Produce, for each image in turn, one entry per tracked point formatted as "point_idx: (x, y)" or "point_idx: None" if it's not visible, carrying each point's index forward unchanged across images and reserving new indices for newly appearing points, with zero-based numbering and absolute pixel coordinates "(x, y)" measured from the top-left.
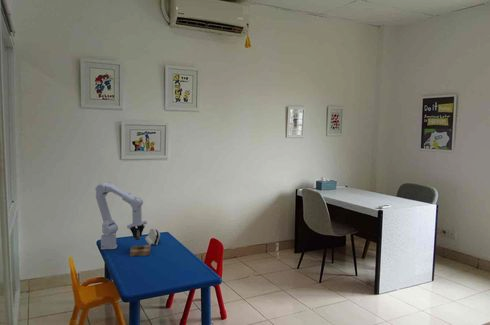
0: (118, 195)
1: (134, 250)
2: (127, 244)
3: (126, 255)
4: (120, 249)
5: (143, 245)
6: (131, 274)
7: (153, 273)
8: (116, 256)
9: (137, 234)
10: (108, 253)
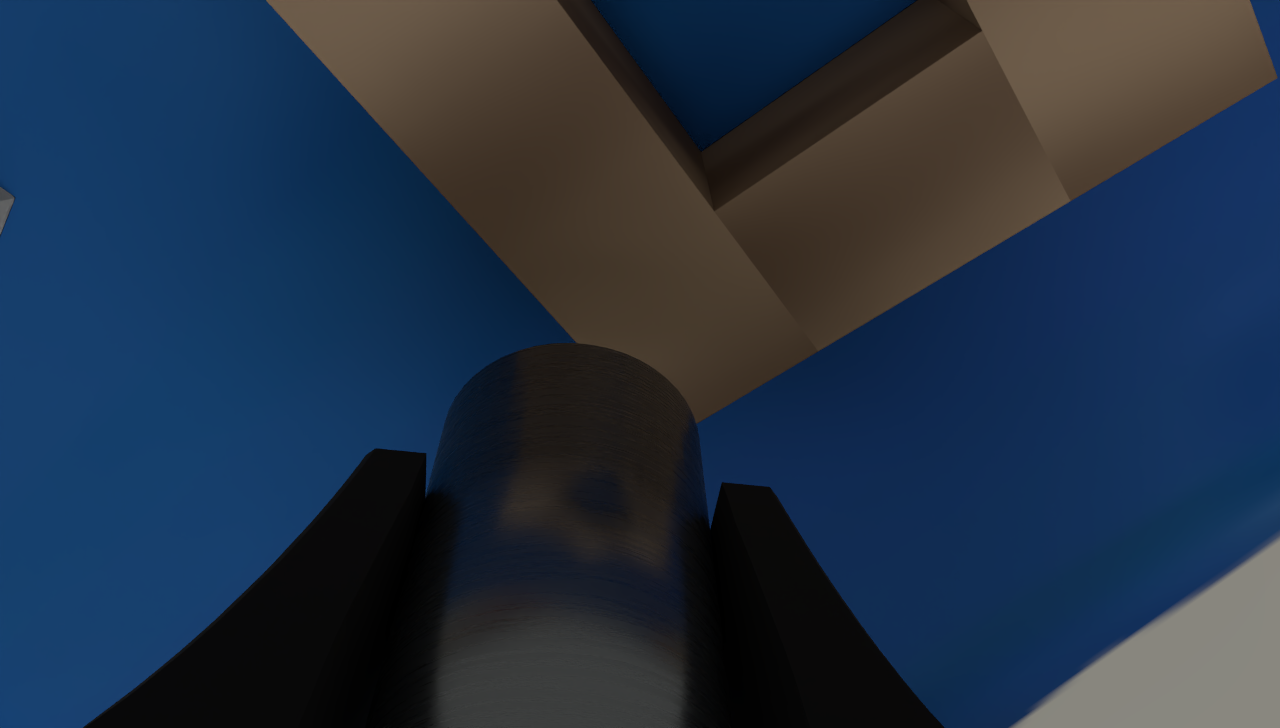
0: None
1: (1095, 13)
2: None
3: (1129, 180)
4: None
5: (425, 139)
6: None
7: None
8: (1271, 349)
9: (668, 581)
10: (1103, 614)
